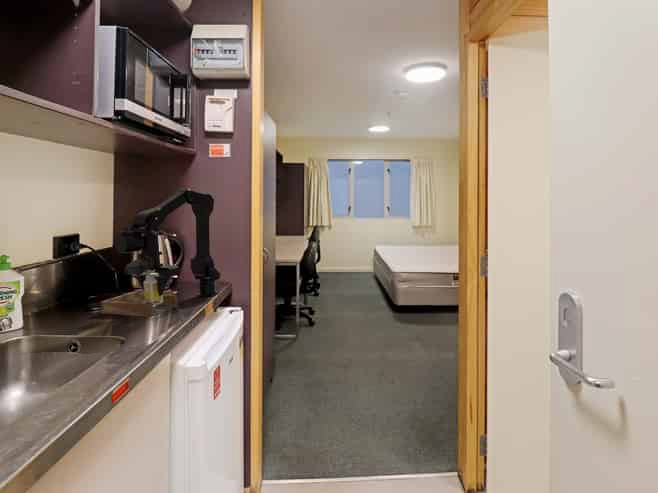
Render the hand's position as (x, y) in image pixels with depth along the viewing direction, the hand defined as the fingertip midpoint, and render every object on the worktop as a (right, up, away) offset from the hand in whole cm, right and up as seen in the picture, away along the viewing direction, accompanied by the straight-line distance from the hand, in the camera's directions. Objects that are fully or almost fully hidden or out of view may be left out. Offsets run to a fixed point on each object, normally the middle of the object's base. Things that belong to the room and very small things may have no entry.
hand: (153, 295), depth 130 cm
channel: (-5, -5, +5) cm, 9 cm away
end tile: (+1, -5, 0) cm, 5 cm away
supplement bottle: (0, -3, 0) cm, 3 cm away
